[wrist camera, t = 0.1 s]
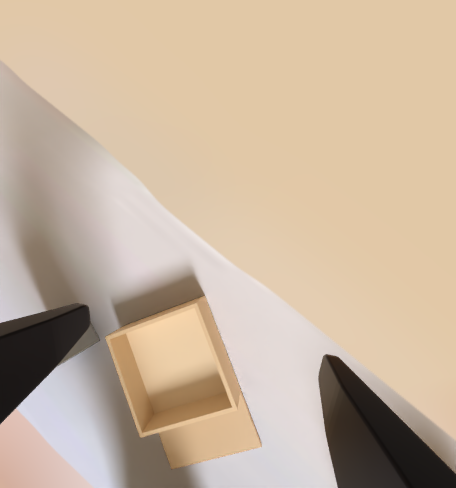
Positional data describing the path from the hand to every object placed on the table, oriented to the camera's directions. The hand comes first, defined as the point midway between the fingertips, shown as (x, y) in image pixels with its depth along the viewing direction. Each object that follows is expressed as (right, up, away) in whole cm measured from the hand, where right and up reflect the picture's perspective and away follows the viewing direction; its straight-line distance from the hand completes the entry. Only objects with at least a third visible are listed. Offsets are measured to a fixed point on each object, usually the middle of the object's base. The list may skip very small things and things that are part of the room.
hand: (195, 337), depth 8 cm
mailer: (-3, -12, +16) cm, 20 cm away
